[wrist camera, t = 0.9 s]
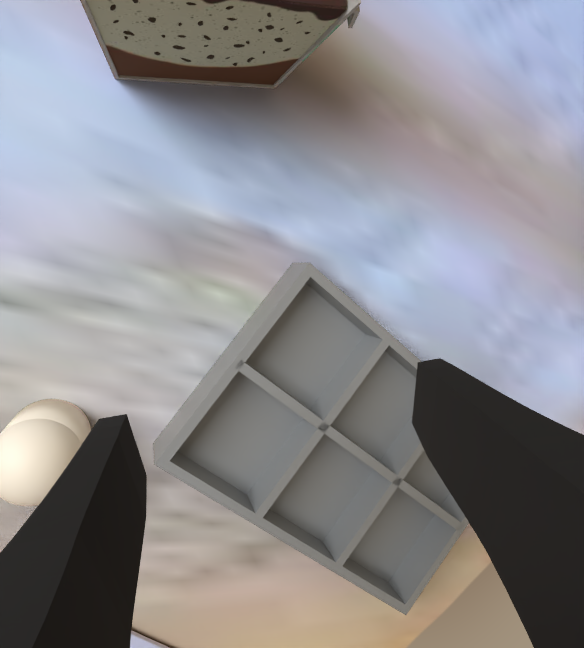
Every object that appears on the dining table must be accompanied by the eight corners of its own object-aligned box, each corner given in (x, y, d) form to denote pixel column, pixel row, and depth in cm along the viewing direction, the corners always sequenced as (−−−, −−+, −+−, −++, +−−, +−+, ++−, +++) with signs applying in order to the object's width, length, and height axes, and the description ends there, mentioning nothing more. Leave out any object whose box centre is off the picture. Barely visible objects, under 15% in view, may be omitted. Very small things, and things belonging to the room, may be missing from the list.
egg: (60, 484, 27) (38, 539, 22) (-10, 446, 26) (-51, 495, 20) (107, 424, 28) (97, 464, 22) (41, 384, 26) (13, 416, 21)
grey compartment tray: (383, 585, 35) (406, 615, 32) (153, 443, 29) (154, 464, 26) (488, 433, 37) (519, 448, 34) (292, 262, 30) (309, 262, 27)
